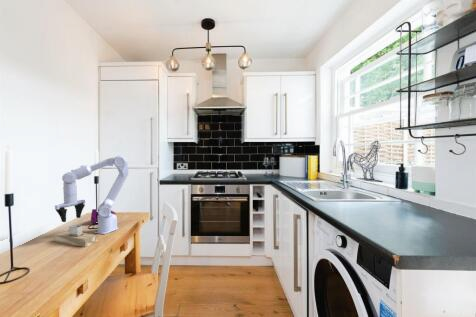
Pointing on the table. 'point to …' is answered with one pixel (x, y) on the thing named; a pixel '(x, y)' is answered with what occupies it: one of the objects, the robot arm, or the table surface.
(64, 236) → the post beam
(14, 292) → the table surface
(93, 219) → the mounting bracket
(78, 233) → the rectangular metal block
